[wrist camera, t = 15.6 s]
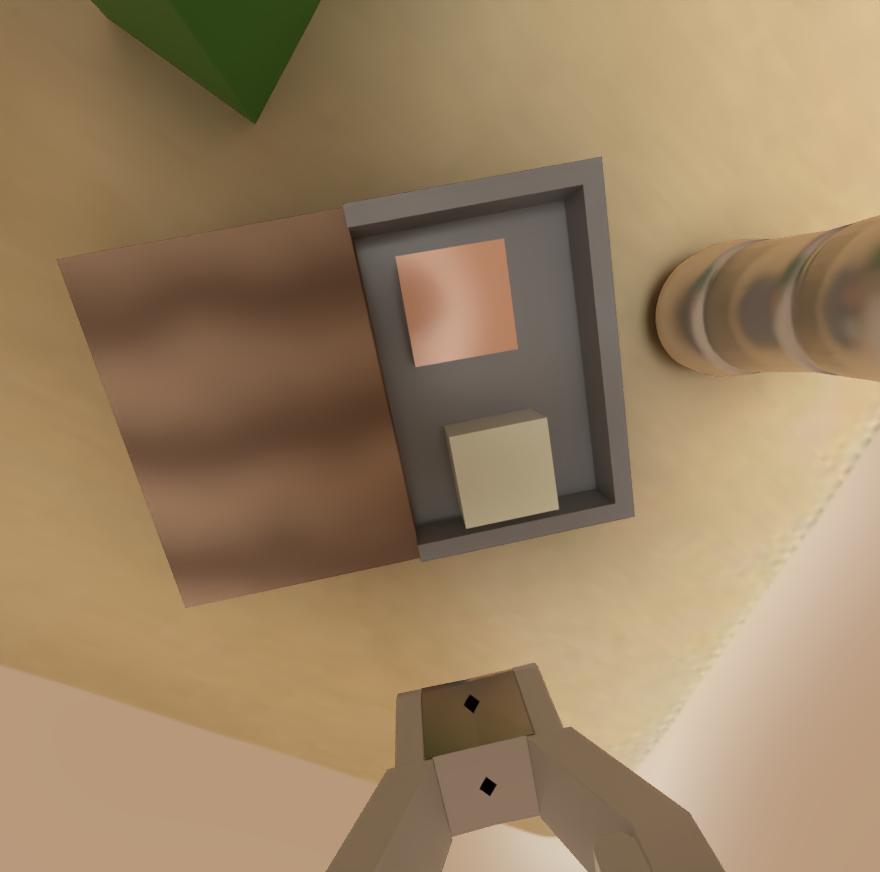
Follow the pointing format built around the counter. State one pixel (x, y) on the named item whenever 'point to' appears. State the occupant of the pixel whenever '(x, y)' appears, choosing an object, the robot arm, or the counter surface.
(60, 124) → the counter surface
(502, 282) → the orange square block
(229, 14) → the hardback book
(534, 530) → the tray
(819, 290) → the plastic bottle
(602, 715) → the counter surface
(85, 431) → the counter surface
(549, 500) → the cream block
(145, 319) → the walnut board
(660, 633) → the counter surface
